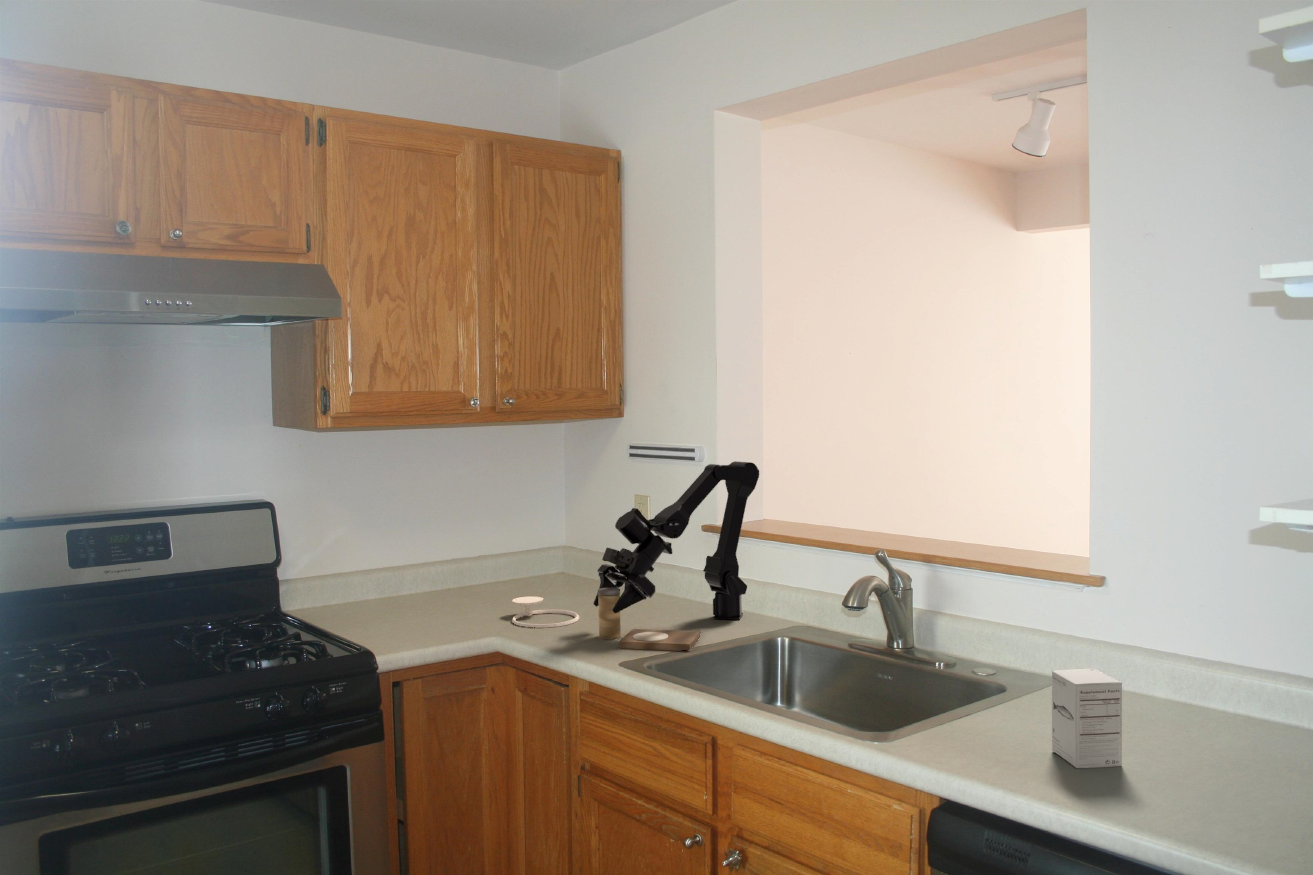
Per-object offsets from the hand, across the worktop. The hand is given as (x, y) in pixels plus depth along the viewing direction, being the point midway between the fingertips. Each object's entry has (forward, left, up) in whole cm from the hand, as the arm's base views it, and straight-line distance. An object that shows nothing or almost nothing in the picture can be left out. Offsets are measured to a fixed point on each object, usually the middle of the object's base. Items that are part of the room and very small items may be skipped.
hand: (604, 608), depth 227 cm
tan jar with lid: (-1, -1, -7) cm, 7 cm away
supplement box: (-93, +61, -7) cm, 111 cm away
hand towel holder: (+21, -16, -7) cm, 28 cm away
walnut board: (-14, +3, -7) cm, 16 cm away
